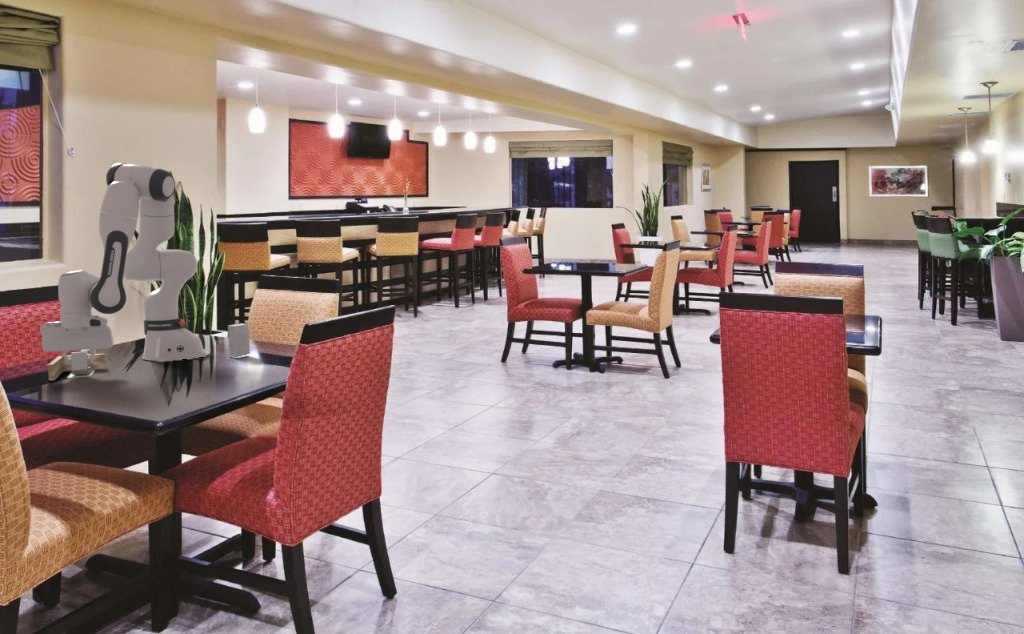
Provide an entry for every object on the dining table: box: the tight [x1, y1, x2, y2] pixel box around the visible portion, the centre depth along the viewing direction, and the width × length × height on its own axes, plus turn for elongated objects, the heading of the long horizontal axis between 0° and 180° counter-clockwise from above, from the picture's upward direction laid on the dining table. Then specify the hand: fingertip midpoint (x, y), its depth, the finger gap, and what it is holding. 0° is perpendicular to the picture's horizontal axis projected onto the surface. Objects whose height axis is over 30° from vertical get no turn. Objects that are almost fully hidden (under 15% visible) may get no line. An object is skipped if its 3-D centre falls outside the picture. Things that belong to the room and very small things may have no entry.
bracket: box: [70, 351, 92, 375], centre depth 260 cm, size 8×4×7 cm, turn 19°
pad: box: [66, 369, 97, 379], centre depth 260 cm, size 7×11×1 cm, turn 19°
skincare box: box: [227, 323, 251, 357], centre depth 289 cm, size 6×4×12 cm
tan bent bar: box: [47, 353, 107, 382], centre depth 260 cm, size 14×16×5 cm
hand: (79, 363), depth 257 cm, fingers closed on bracket, 4 cm apart
